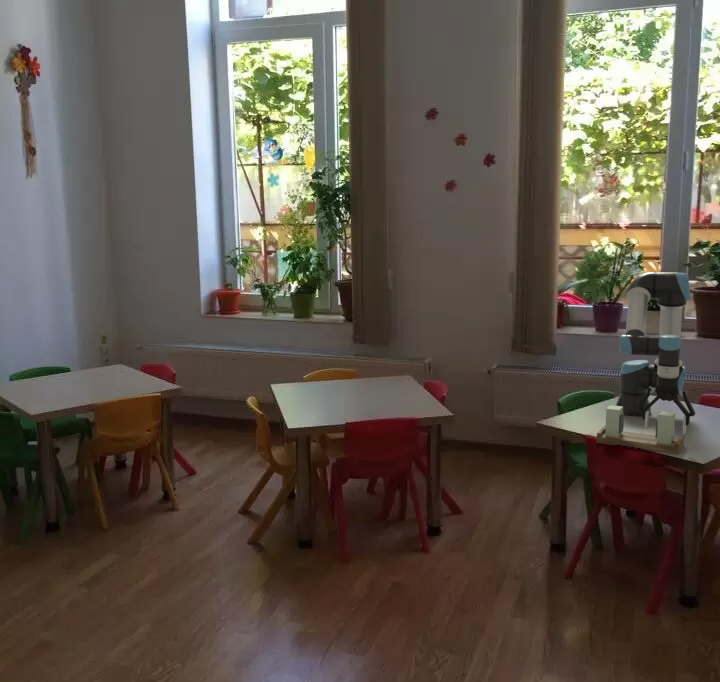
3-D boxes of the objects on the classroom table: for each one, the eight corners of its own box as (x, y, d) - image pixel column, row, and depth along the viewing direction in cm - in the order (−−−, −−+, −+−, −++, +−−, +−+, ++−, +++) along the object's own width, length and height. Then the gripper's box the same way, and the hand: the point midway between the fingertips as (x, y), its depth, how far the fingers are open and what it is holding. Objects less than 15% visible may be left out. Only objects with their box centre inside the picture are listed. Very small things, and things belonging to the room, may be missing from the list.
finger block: (658, 438, 292) (659, 410, 291) (673, 440, 289) (675, 412, 288) (655, 442, 287) (656, 414, 286) (670, 444, 284) (672, 416, 283)
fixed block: (609, 431, 302) (610, 405, 300) (623, 433, 299) (624, 406, 297) (605, 435, 297) (606, 408, 295) (619, 437, 294) (621, 410, 292)
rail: (604, 435, 306) (604, 425, 306) (683, 445, 291) (684, 435, 290) (596, 442, 296) (597, 433, 296) (678, 454, 281) (678, 444, 280)
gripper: (631, 375, 287) (629, 428, 291) (702, 381, 274) (699, 437, 278) (635, 371, 294) (633, 424, 297) (705, 377, 281) (702, 432, 284)
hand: (665, 430), depth 288 cm, fingers open, 13 cm apart
